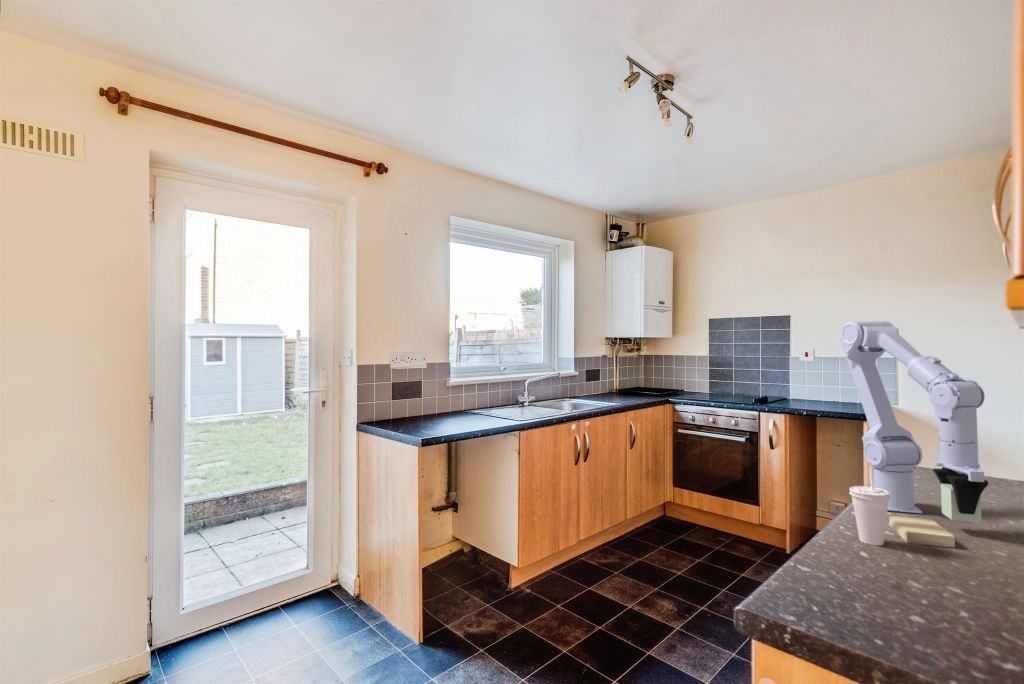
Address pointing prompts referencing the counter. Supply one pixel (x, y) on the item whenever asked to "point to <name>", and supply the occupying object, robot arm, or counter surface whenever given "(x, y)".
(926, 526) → the oak slab
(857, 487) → the smoothie
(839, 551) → the counter surface
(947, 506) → the sage block
